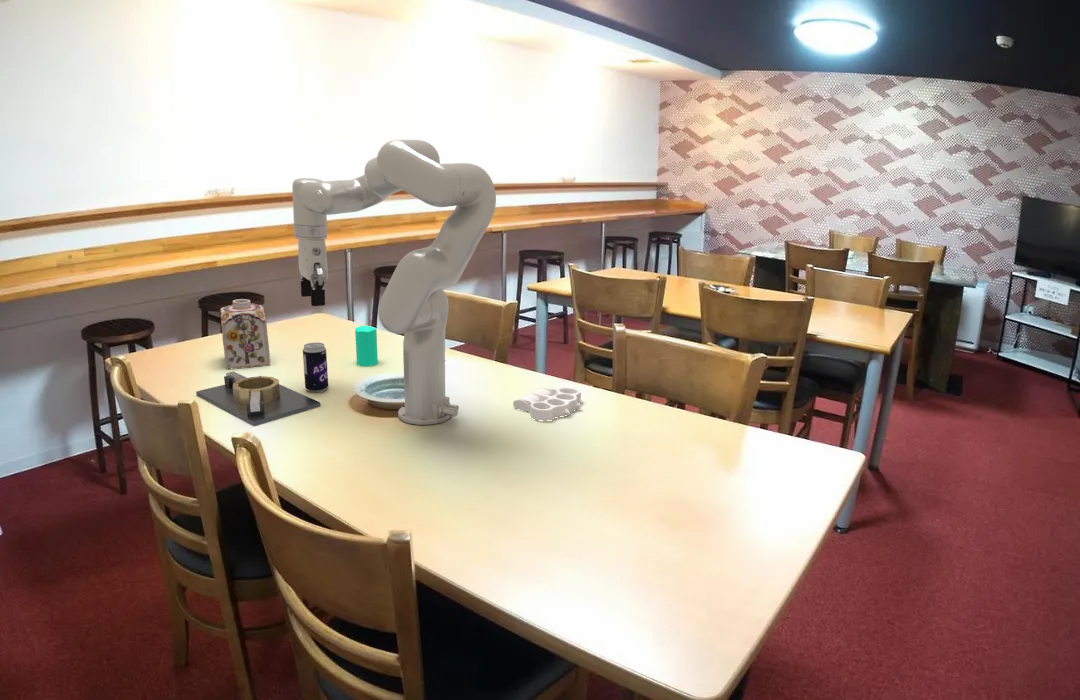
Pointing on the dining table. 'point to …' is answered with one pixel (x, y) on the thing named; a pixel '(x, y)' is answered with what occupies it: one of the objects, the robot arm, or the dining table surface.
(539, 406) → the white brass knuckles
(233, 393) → the grey plate with collar
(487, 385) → the dining table surface
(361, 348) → the candle
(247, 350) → the decorative jar
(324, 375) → the beverage can
